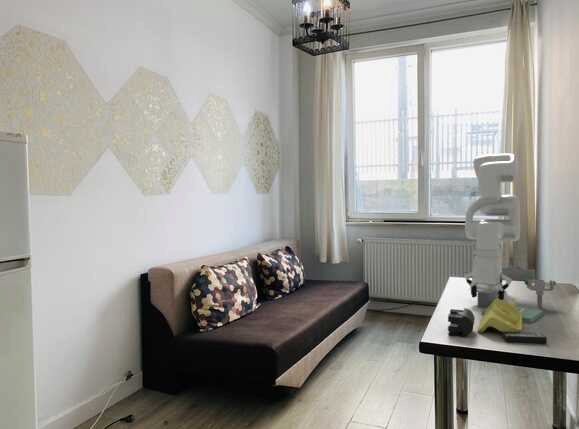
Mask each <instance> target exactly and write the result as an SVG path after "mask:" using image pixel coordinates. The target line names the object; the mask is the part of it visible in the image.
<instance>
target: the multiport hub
mask: <svg viewBox="0 0 579 429" xmlns="http://www.w3.org/2000/svg"><path fill="white" fill-rule="evenodd" d="M501 339H502V340H503V342H505V343H508V344H526V345H527V344H531V345H532V344H533V345H547V341H548V338H547V336H546V335H544V334H543V333H542V332H529V331H528V332H527V331H526V332H525V331H520V332H501Z"/></svg>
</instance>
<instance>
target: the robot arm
mask: <svg viewBox="0 0 579 429" xmlns="http://www.w3.org/2000/svg"><path fill="white" fill-rule="evenodd" d="M518 162H519V160H518V157H517V155H516V154H514V153H497V154H496V153H495V154H493V153H492V154H482V155H481V154H480V155H478V156H476V157H475V158H474V159H473V168H474V169H473V170H474V173H475V176H476V179H477V183H478V185H477V198H475V199H474V200H473V201H472V202H471V203H470V205H469V206H468V207H467V209H466V212H465V218H464V219H465V220H464V222H465V223H464V233H465V235H466V238H468V239H469V240H470V239H471V240H476V249H475V250H473V252H472V253H473V254H474V255H475V256H474V257H473V258H474V259H473V263H472V270H471V272H467V273H465V274H464V276H463V277H464V279H465V280H466V281H465V282H466V283H467V284H468V285H469V287H470V295H471V298H476V297H477V298H478V292H480V291H482V290H485V289H489V290H497V299H500V300H502V301H504V299H505V292H506V290H507V288H509V287H510V286H511V283H512V282H513V279H512V278H510V277H508V276H507V275H505V274H503V265H502V264H503V263H502V255H503V254H502V249H501V248H500V246H499V242H516V241H519V239H520V238H521V202H520V198H519V197H518V196H517V195H515V194H502V184H501V183H513V182H515V181H517V178H518V175H519V174H518V173H519V163H518ZM478 211H480V213H481V215H483V216H485V217H506V218H508V219H505V218H504V219H501V218H500V219H498V218H494V219H493V218H487V219H484V218H483V219H480V220H474V219H473V218H474V216H475V213H477V212H478ZM470 277H471V278H470ZM503 280H504V281H506V282H505V284H503Z"/></svg>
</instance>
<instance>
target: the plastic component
mask: <svg viewBox="0 0 579 429" xmlns="http://www.w3.org/2000/svg"><path fill="white" fill-rule="evenodd" d="M522 323H523V322H522V315H521V313H520V312H519V311H518V310H517V309H516V308H515V307H513V306H512V305H510V304H508V303H507V301H504V300H500V299H498V298H497V299H495V300H494V301H493V302H492V303H491V305H490V306H489V308H488V309H487V311H486V312H485V314H484V315H482V317H481V320H480V321H479V324H478V326H477V332H478V333H481V334H482V333H484V332H485V331H486V330H487V328H489V327H491V328H493V329H495V330H497V331H499V332H501V333H502V332H522V331H521V330H522V328H523V327H522V325H523V324H522Z"/></svg>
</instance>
